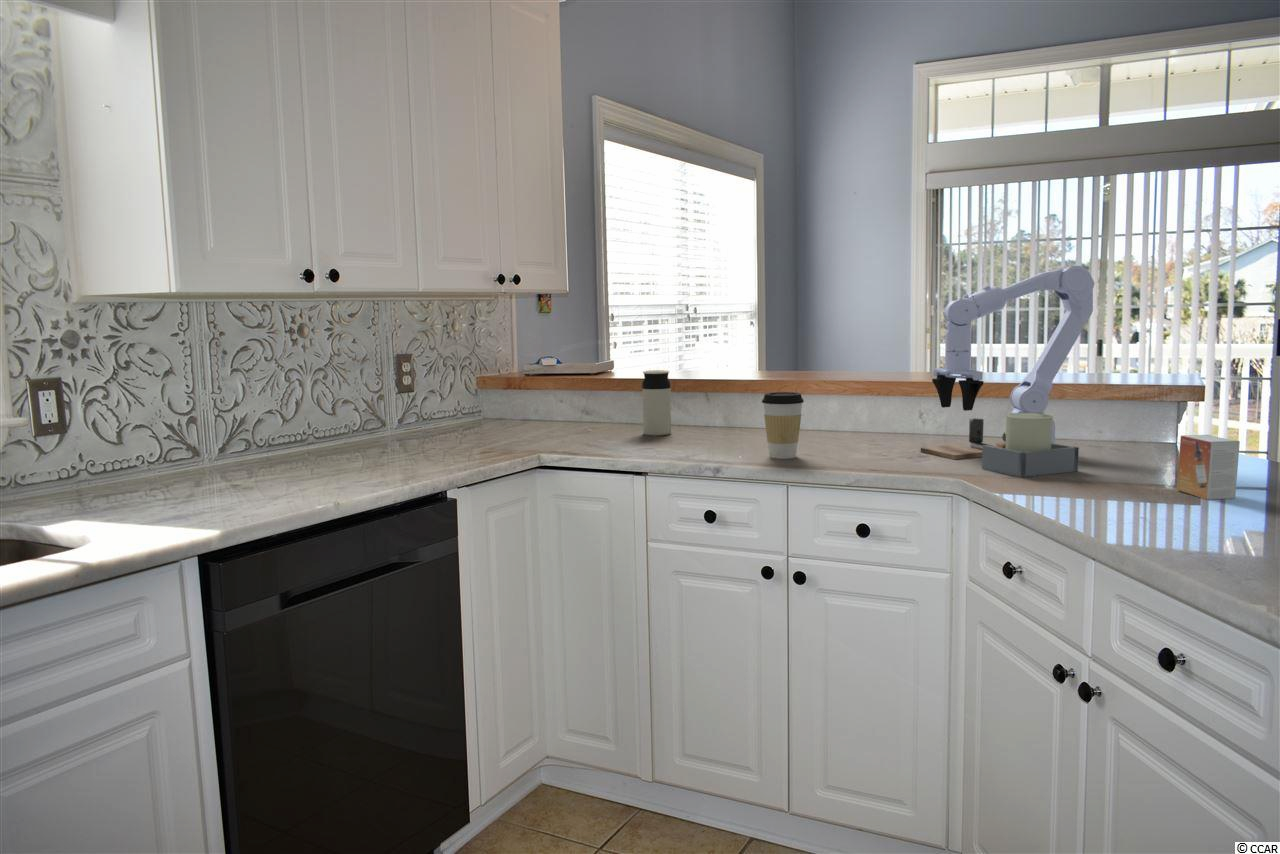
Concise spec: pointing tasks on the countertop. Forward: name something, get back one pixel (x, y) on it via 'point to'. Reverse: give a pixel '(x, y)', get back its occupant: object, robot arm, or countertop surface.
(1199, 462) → the small box
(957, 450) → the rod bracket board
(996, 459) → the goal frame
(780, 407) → the coffee cup
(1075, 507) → the countertop surface
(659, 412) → the travel mug
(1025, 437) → the can
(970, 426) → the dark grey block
